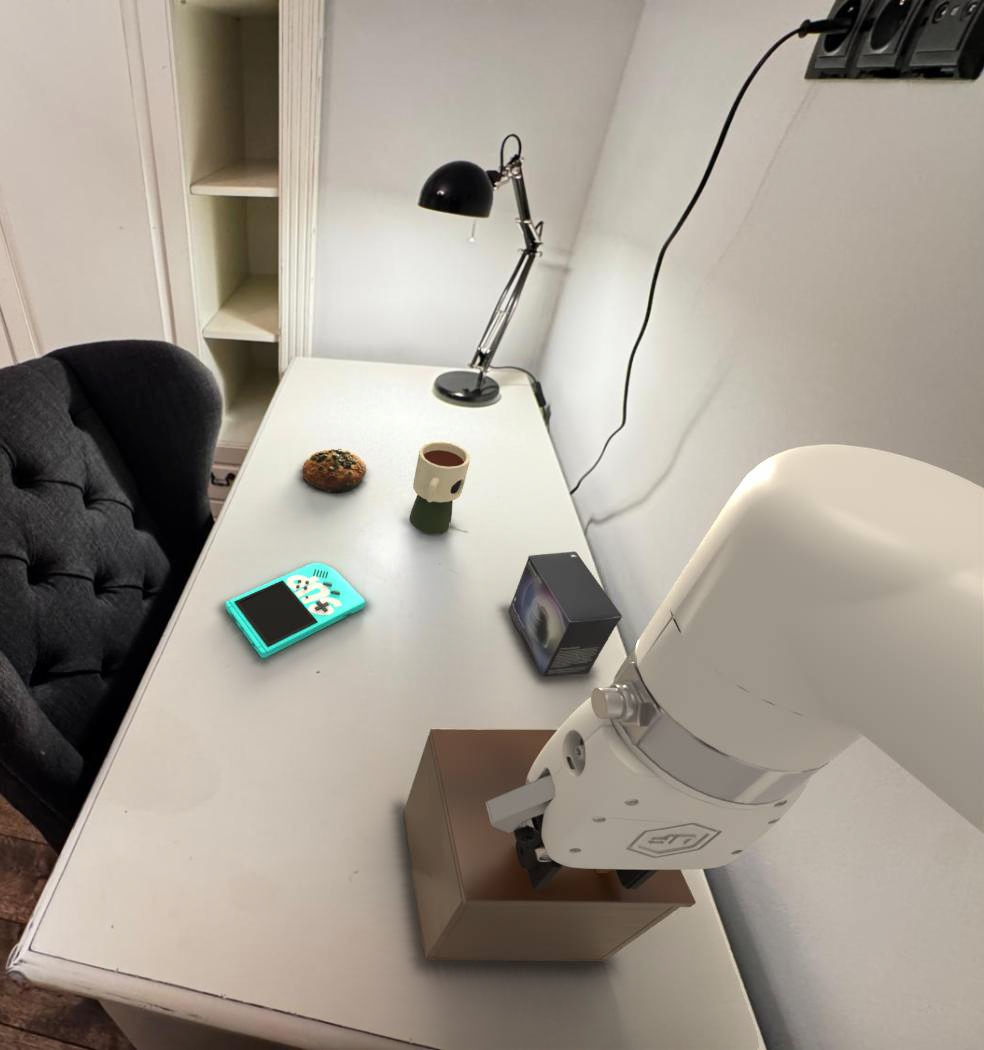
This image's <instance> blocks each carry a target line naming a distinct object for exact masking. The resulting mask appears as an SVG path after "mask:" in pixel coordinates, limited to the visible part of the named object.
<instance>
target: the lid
mask: <svg viewBox="0 0 984 1050" xmlns="http://www.w3.org/2000/svg"><path fill="white" fill-rule="evenodd" d="M557 730H558V729H541V728H540V729H539V728H538V729H534V728H532V729H528V728H525V729H523V728H430V730H429V733H428V735H429V736H430V741H431V746H432V751H433V756H434V761H435V766H436V771H437V776H438V781H439V786H440V791H441V796H442V801H443V805H444V810H445V815H446V820H447V825H448V830H449V835H450V840H451V845H452V850H453V855H454V860H455V865H456V869H457V874H458V879H459V884H460V889H461V894H462V899H463V904H464V905H488V906H604V907H680V908H691V907H693V906H694V905H696V903H697V902H696V900H695V898H694V896H693V893H692V891H691V889H690V886H689V885H688V882H687V880H686V878H685V875H684V874H683V872H682V870H658V871H657V872H656V873H655V874H654V875H653V876H651V877H650V878H649V879H648V880H647V881H645V882H644V883H643V884H642V885H641V886H640V887H638V888H637V889H626V888H625V887H623V886H622V884H621V882H620V880H619V877H618V875H617V872H616V870H615V869H587V868H573V867H568V866H564V865H562V868H561V869H560V870H559V871H558V872H557V873H556V875H555V876H554V877H553V878H552V879H551V880H550V881H549V883H548V884H547V885H546V886H544V888H542V889H538V888H533V887H532V884H531V881H530V878H529V874H528V871H527V869H523V868H522V867H521V866H520V863H519V860H518V857H517V853H516V841H517V840H516V839H515V835H514V833H509V834H508V833H506V832H504V831H502V830H499V829H497V828H495V827H493V826H491V822H490V818H489V814H488V810H487V807H486V802H487V801H488V800H490V799H493V798H495V797H498V796H500V795H502V794H505V793H507V792H510V791H512V790H514V789H517V788H519V787H522V786H524V785H526V780H527V776H528V774H529V771H530V769H531V767H532V765H533V763H534V762H535V760H536V758H537V757H538V755H539V754H540V752H541V751H542V749H543V748H544V746H545V745H546V744H547V742H548V741H549V740H550V739H551V737H552V736H553V735H554V734H555V732H556V731H557Z"/></svg>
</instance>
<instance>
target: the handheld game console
mask: <svg viewBox="0 0 984 1050" xmlns="http://www.w3.org/2000/svg"><path fill="white" fill-rule="evenodd" d="M365 603H366V601H365V599H364V597H362V595H361V594H360V593H359V592H357V591H356V589H354V588H353V586H352V585H351V584H350V583H349V582H348V581H346V579H345V578H344V577H343V576H342V575H341V574H340V573H339V572H338V571H336V570H335V569H334V568H332V567H330V565H327V564H325V563H321V562H312V563H310V564H307V565H305V566H303V567H301V568H297V569H296V570H294V571H291V572H289V573H287V574H285V575H283V576H280V577H278V578H276V579H273V580H271V581H269V582H266V583H264V584H262V585H260V586H258V587H255V588H253V589H251V590H248V591H246V592H244V593H242V594H239V595H238V596H234V597H233V598H230V599H229V600H227V601H225V609H226V611H227V613H228V614H229V615H230V617H231V618H232V620H233V621H234V622H235V624H236V625H237V627H238V628H239V629H240V631H241V632H242V634H243V635H244V636H245V638H246V639H247V640H248V642H249V643H250V644H251V646H252V647H253V649H254V651H256V653H257V654H258V656H259V657H260V658H261V659H266V658H268V657H270V656H272V655H274V654H276V653H278V652H280V651H281V650H284V649H286V648H287V647H291V646H292V645H294V644H295V643H297V642H299V641H302V640H304V639H305V638H307V637H309V636H312V635H314V634H315V633H317V632H320V631H322V630H323V629H325V628H328V627H329V626H331V625H333V624H335V623H337V622H339V621H341V620H343V619H344V618H346V617H349V616H351V615H352V614H354V613H357V612H360V611H361V610H362V609H364V608H365Z"/></svg>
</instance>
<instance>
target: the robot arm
mask: <svg viewBox="0 0 984 1050" xmlns="http://www.w3.org/2000/svg"><path fill="white" fill-rule="evenodd" d="M556 730H557V731H556V732H555V734H554V735H553V736H552V737H551V739H550V740H549V741H548V742H547V744H546V745H545V746H544V748H543V749H542V751H541V752H540V754H539V755H538V757H537V758H536V760H535V762H534V763H533V765H532V767H531V769H530V771H529V774H528V776H527V780H526V785H524V786H522V787H519V788H517V789H514V790H512V791H510V792H507V793H505V794H502V795H500V796H498V797H495V798H493V799H490V800H488V801H487V802H486V807H487V810H488V814H489V818H490V822H491V826H493V827H495V828H497V829H499V830H502V831H504V832H506V833H508V834H509V833H514V835H515V839H516V840H517V841H516V853H517V857H518V860H519V863H520V866H521V867H522V868H523V869H527V871H528V874H529V878H530V881H531V884H532V887H533V888H538V889H542V888H544V886H546V885H547V884H548V883H549V881H550V880H551V879H552V878H553V877H554V876H555V875H556V873H557V872H558V871H559V870H560V869H561V868H562V865H564V866H568V867H573V868H587V869H615V870H616V872H617V875H618V877H619V880H620V882H621V884H622V886H623V887H625V888H626V889H637V888H638V887H640V886H641V885H642V884H643V883H644V882H645V881H647V880H648V879H649V878H650V877H651V876H653V875H654V874H655V873H656V872H657V871H658V870H681V871H682V870H684V871H685V870H707V869H708V870H709V869H715V868H720V867H724V866H727V865H728V864H730V863H732V862H733V861H734V860H735V859H737V858H738V857H739V856H741V855H743V854H744V852H746V851H747V850H748V849H749V848H751V847H752V846H753V845H754V844H755V843H757V842H758V841H759V840H760V839H761V838H762V837H763V836H764V835H765V834H767V832H769V831H770V829H772V828H773V827H774V826H775V825H776V824H777V823H778V822H779V821H780V820H781V819H782V818H783V817H784V816H785V815H786V814H787V813H788V812H789V811H790V809H791V808H792V807H793V805H794V804H795V803H796V802H797V801H798V799H799V798H800V796H801V795H802V793H803V792H804V790H805V789H806V787H807V785H808V783H809V780H810V779H811V778H812V776H814V775H815V774H816V773H818V772H819V771H821V770H822V769H823V768H824V767H825V766H827V765H828V764H829V763H830V762H831V761H833V760H834V759H836V758H837V757H838V756H840V754H842V753H843V752H845V751H846V750H848V749H849V748H850V747H851V746H852V745H854V744H855V743H856V742H857V741H859V740H860V739H861V738H862V737H865V738H866V739H867V740H868V741H869V742H871V743H872V744H873V745H874V746H876V747H877V748H878V749H879V750H880V751H882V752H883V753H884V754H886V755H887V756H888V757H889V758H890V759H891V760H893V761H894V762H895V763H896V764H898V765H899V766H900V767H901V768H902V769H904V770H905V771H907V772H908V773H909V774H910V775H911V776H912V777H913V778H915V779H916V781H918V782H919V783H921V784H922V785H923V786H924V787H926V788H927V789H928V790H930V791H931V792H932V793H933V794H934V795H935V796H937V797H938V798H939V799H940V800H942V802H944V804H946V805H947V806H949V808H951V809H952V810H954V811H955V813H956V814H959V815H960V816H961V817H963V818H964V819H965V820H966V821H967V822H969V824H971V825H972V826H973V827H974V828H976V829H977V830H978V831H980V832H981V833H982V834H984V487H983V486H981V485H979V484H976V483H974V482H973V481H971V480H969V479H967V478H965V477H963V476H961V475H958V474H955V473H953V472H952V471H949V470H947V469H944V468H941V467H939V466H936V465H934V464H930V463H928V462H925V461H922V460H918V459H916V458H912V457H909V456H905V455H902V454H898V453H895V452H890V451H887V450H881V449H876V448H871V447H865V446H857V445H849V444H839V443H838V444H836V443H834V444H832V443H830V444H829V443H828V444H827V443H825V444H823V443H822V444H814V445H813V444H812V445H805V446H797V447H793V448H790V449H786V450H784V451H781V452H779V453H776V454H774V455H773V456H770V457H767V458H766V459H765V460H763V461H762V462H760V463H759V464H758V465H757V466H755V468H754V469H752V470H751V471H750V472H749V473H747V475H745V477H744V478H743V480H742V481H741V482H740V484H739V485H738V486H737V488H736V489H735V491H734V492H733V493H732V495H731V496H730V498H729V499H728V501H727V502H726V504H725V505H724V507H723V508H722V510H721V511H720V513H719V514H718V516H717V517H716V519H715V521H714V522H713V523H712V525H711V527H710V528H709V530H708V531H707V533H706V535H705V536H704V537H703V539H702V541H701V542H700V544H699V545H698V546H697V548H696V550H695V551H694V553H693V555H692V556H691V557H690V559H689V561H688V562H687V564H686V565H685V567H684V568H683V570H682V571H681V572H680V575H679V576H678V578H677V579H676V581H675V582H674V584H673V586H671V589H670V590H669V592H668V593H667V595H666V596H665V599H663V601H662V603H661V605H660V606H659V608H658V609H657V610H656V612H655V613H654V615H653V617H652V618H651V620H650V621H649V623H648V625H646V627H645V628H644V629H643V631H642V633H641V635H639V638H638V639H637V641H636V642H635V644H634V646H633V647H632V648H631V650H630V652H629V653H628V655H627V656H626V658H625V659H624V661H623V662H622V664H621V666H620V667H619V669H618V670H617V671H616V673H615V675H614V676H613V678H612V680H611V681H610V684H609V686H604V687H595V688H594V689H593V690H592V692H591V695H590V696H589V697H588V698H587V699H586V700H585V701H584V702H583V703H582V704H581V705H580V706H578V708H576V710H575V711H574V712H573V713H571V715H569V717H568V718H567V719H566V720H565V721H564V722H563V723H562V724H561V725H560V726H559V727H558V728H557V729H556Z"/></svg>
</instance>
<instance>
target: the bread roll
mask: <svg viewBox="0 0 984 1050" xmlns="http://www.w3.org/2000/svg"><path fill="white" fill-rule="evenodd" d="M367 471H368V470H367V465H366V463H365V461H363V460H362V458H361V457H359V456H358V455H357V454H356V453H353V452H352V451H350V450H345V449H342V448H338V449H334V448H331V449H324V450H319V451H317V452H315V453H312V454H311V455H310V456H309V458H307V459H306V460H305V461H304V463H303V466H302V470H301V474H302V476H303V479H304V480H305V481H306V482H307V483H308V484H310V485H311V486H314V487H315V488H318V489H320V490H322V491H326V492H328V493H332V494H340V493H344V492H348V491H350V490H352V489H353V488H356V487H357V486H358V485H359V484H360V483H361V482H362V480H363V479H364V477H365V475H366V473H367Z"/></svg>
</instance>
